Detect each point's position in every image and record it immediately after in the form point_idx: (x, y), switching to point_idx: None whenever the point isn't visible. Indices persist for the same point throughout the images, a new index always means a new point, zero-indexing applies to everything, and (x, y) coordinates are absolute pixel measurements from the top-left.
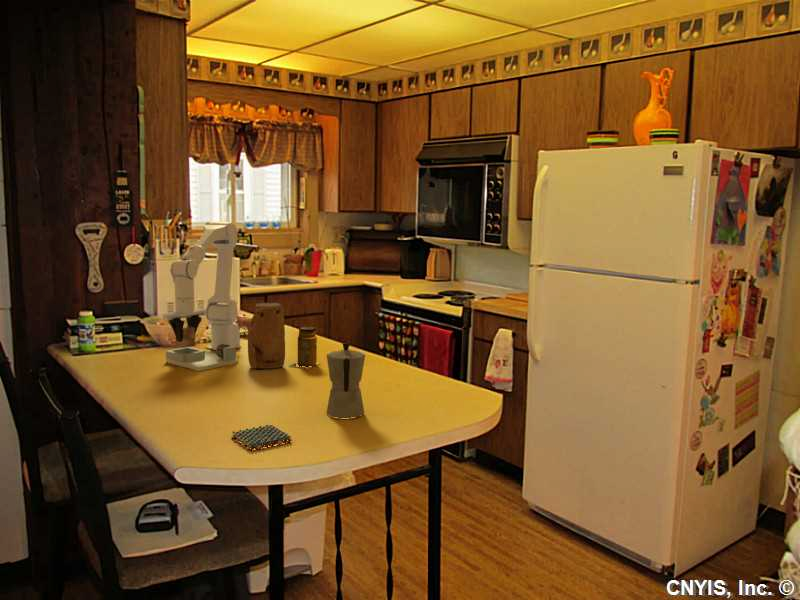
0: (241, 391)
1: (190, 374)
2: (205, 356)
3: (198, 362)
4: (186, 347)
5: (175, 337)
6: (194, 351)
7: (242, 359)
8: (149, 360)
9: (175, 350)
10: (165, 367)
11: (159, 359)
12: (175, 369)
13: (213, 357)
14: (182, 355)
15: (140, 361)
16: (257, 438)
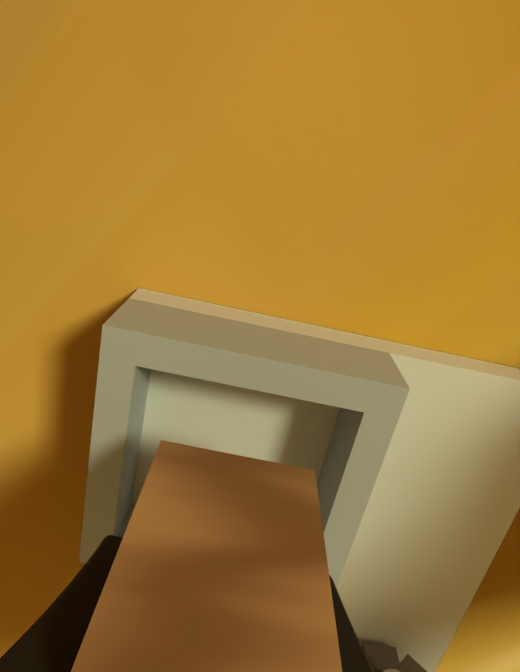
0: None
1: (8, 636)
2: (377, 519)
3: None
4: (367, 392)
5: (132, 515)
6: (328, 493)
7: (502, 664)
8: (98, 72)
9: (200, 377)
10: (18, 403)
11: (190, 134)
12: (28, 498)
13: (376, 581)
14: (84, 559)
15: (7, 16)
16: None
